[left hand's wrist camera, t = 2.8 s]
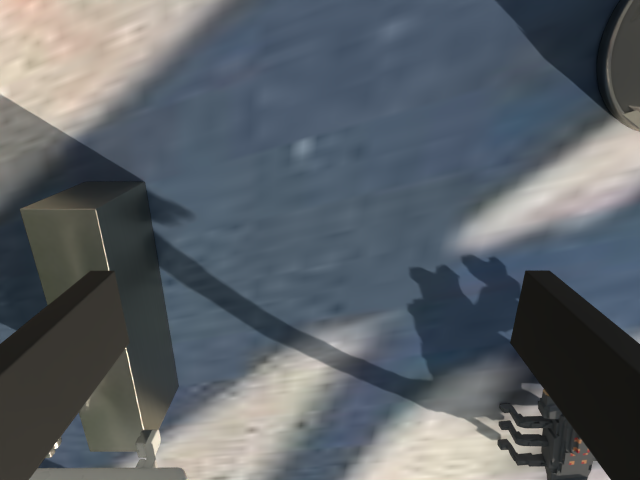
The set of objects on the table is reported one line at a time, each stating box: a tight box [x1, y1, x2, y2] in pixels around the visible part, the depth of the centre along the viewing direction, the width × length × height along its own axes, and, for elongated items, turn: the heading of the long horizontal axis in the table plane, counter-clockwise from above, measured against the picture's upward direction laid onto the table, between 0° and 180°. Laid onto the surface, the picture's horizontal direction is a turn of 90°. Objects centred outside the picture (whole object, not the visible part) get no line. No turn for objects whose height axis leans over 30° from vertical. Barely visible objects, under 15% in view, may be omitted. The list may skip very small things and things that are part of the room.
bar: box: [20, 182, 179, 451], centre depth 40 cm, size 26×6×9 cm, turn 0°
